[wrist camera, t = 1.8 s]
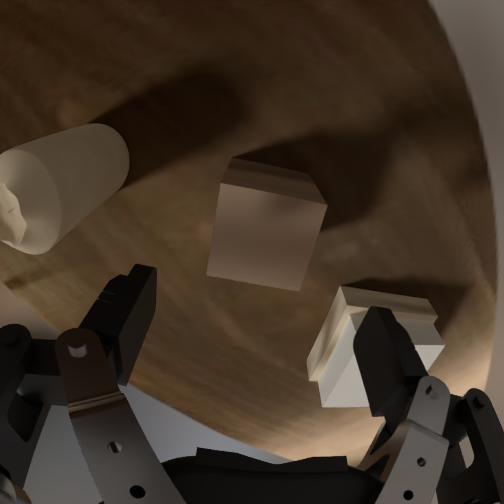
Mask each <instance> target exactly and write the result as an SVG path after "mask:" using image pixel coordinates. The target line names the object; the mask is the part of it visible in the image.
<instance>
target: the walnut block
mask: <svg viewBox="0 0 504 504" xmlns="http://www.w3.org/2000/svg"><path fill="white" fill-rule="evenodd" d="M327 206H328V205H327V203H326V202H325V200H324V198H323V197H322V195H321V193H320V192H319V190H318V188H317V187H316V185H315V183H314V182H313V180H312V178H311V177H310V175H309V174H308V173H304V172H300V171H295V170H291V169H286V168H282V167H277V166H273V165H268V164H263V163H258V162H253V161H248V160H243V159H237V158H232V159H231V161H230V163H229V166H228V168H227V170H226V173H225V175H224V177H223V180H222V182H221V186H220V192H219V197H218V203H217V209H216V216H215V222H214V228H213V234H212V241H211V247H210V254H209V261H208V267H207V274H206V275H209V276H214V277H219V278H225V279H230V280H236V281H241V282H247V283H253V284H258V285H264V286H270V287H276V288H281V289H287V290H293V291H300V288H301V285H302V282H303V279H304V276H305V273H306V271H307V268H308V265H309V262H310V259H311V256H312V253H313V250H314V247H315V244H316V241H317V237H318V234H319V231H320V228H321V225H322V222H323V219H324V215H325V212H326V209H327Z"/></svg>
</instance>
